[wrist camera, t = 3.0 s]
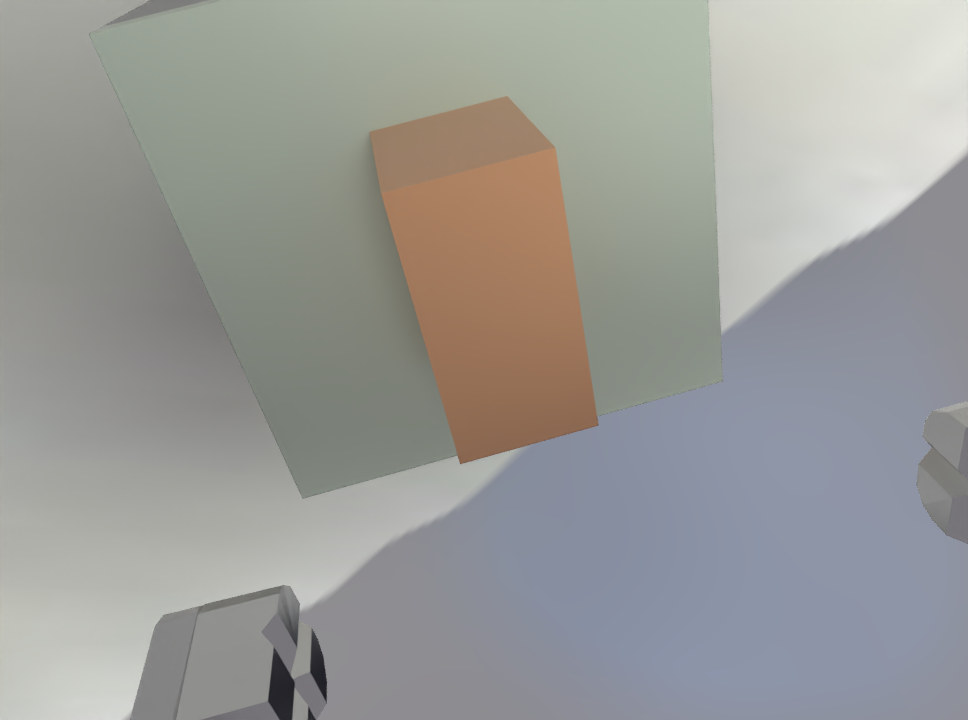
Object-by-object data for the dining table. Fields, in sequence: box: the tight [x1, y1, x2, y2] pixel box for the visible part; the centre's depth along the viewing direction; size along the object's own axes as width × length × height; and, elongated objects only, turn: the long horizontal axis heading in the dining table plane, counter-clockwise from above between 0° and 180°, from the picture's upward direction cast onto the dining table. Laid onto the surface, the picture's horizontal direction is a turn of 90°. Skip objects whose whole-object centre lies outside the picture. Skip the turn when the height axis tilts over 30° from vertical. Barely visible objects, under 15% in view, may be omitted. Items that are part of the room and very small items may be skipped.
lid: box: [89, 0, 723, 498], centre depth 17 cm, size 12×12×6 cm
